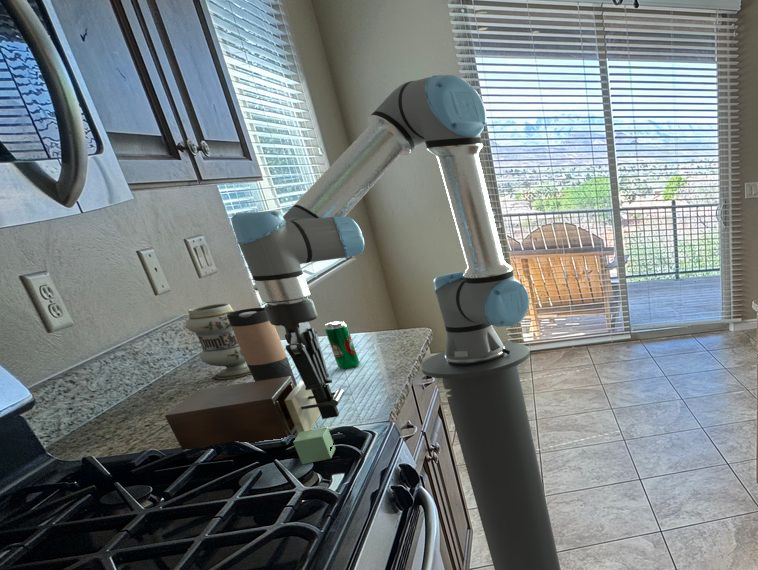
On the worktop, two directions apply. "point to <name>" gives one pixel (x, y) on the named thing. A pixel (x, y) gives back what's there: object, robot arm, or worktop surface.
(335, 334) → the soda can
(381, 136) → the robot arm
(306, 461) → the block
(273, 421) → the cabinet
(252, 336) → the travel mug
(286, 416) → the drawer
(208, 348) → the apothecary jar
